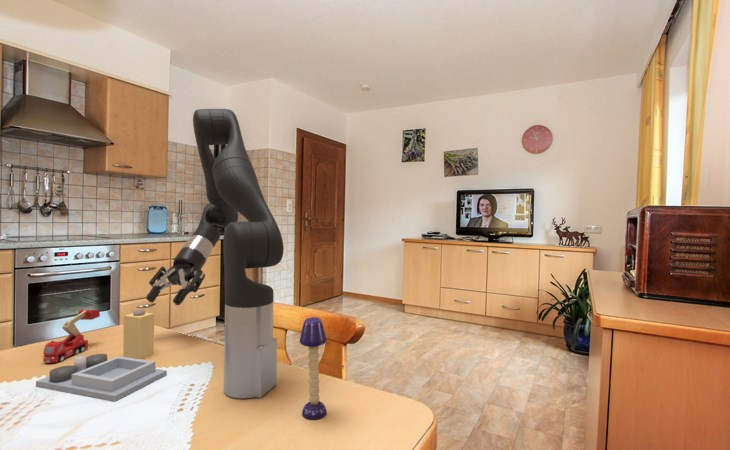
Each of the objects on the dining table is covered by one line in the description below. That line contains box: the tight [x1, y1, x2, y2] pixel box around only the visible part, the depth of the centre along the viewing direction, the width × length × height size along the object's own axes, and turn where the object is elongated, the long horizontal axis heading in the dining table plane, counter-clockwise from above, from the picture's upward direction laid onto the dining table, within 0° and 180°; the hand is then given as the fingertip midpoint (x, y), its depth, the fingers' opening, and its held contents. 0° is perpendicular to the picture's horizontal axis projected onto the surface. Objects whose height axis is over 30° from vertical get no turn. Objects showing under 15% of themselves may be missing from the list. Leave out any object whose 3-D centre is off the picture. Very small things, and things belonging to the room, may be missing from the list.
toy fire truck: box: [42, 309, 101, 364], centre depth 90 cm, size 3×14×10 cm, turn 179°
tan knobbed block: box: [122, 309, 155, 360], centre depth 90 cm, size 5×4×11 cm
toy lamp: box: [299, 316, 327, 421], centre depth 64 cm, size 5×5×17 cm
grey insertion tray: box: [35, 353, 168, 402], centre depth 76 cm, size 20×12×4 cm, turn 74°
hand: (162, 302), depth 96 cm, fingers open, 8 cm apart
